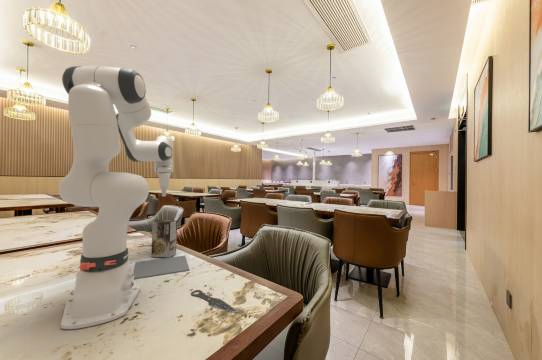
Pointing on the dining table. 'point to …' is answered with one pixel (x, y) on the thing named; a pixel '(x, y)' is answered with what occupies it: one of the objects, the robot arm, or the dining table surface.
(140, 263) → the mat
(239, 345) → the dining table surface
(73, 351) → the dining table surface
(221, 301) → the throwing knife
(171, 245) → the coffee box
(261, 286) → the dining table surface
